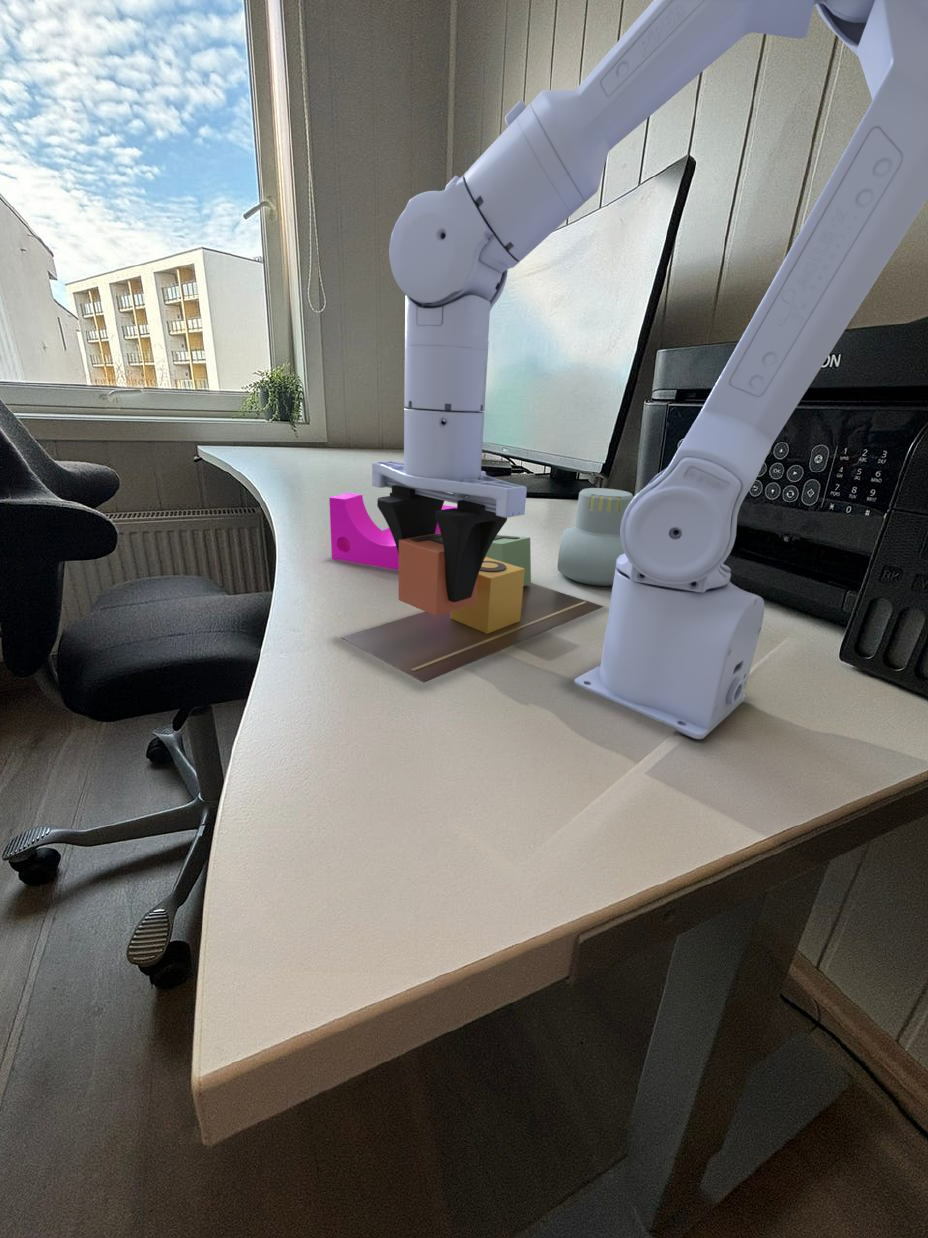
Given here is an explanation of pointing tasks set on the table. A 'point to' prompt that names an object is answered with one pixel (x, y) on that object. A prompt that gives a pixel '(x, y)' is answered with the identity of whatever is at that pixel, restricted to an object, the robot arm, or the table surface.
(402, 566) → the orange letter t block
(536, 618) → the word board
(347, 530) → the toy block
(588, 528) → the air freshener
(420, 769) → the table surface
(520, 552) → the green square block
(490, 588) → the yellow cube
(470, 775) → the table surface
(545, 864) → the table surface
